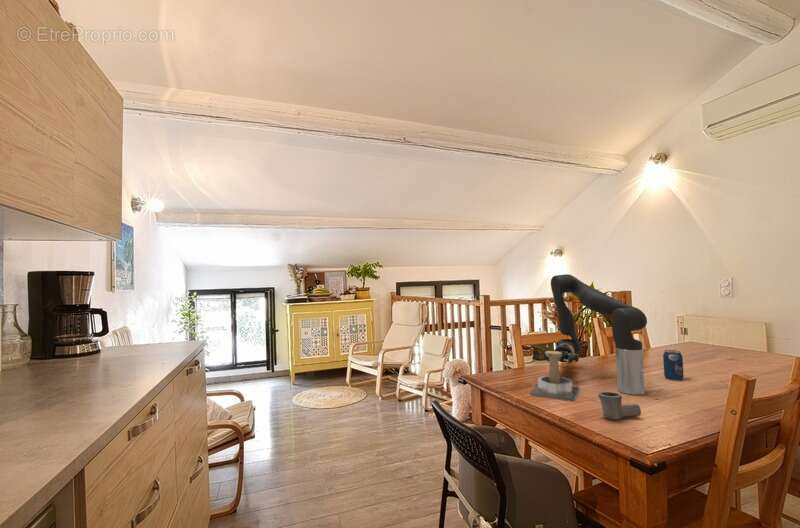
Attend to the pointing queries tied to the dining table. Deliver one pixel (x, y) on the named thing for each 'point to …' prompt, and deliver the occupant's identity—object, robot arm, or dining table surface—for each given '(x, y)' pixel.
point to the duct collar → (555, 389)
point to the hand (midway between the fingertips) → (558, 359)
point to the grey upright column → (554, 366)
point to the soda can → (673, 365)
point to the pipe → (617, 406)
